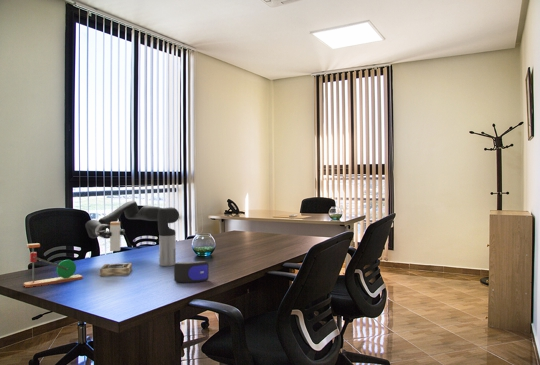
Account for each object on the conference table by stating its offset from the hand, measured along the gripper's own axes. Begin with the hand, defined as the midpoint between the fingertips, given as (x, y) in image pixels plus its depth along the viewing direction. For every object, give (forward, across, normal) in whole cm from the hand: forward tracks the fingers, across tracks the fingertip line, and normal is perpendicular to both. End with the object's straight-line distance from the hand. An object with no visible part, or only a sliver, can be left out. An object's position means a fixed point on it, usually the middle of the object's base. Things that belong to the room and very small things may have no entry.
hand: (117, 233), depth 214 cm
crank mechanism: (-3, -30, +21) cm, 37 cm away
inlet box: (-2, 0, +21) cm, 21 cm away
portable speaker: (+43, +18, +21) cm, 51 cm away
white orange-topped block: (-2, 0, +9) cm, 9 cm away
